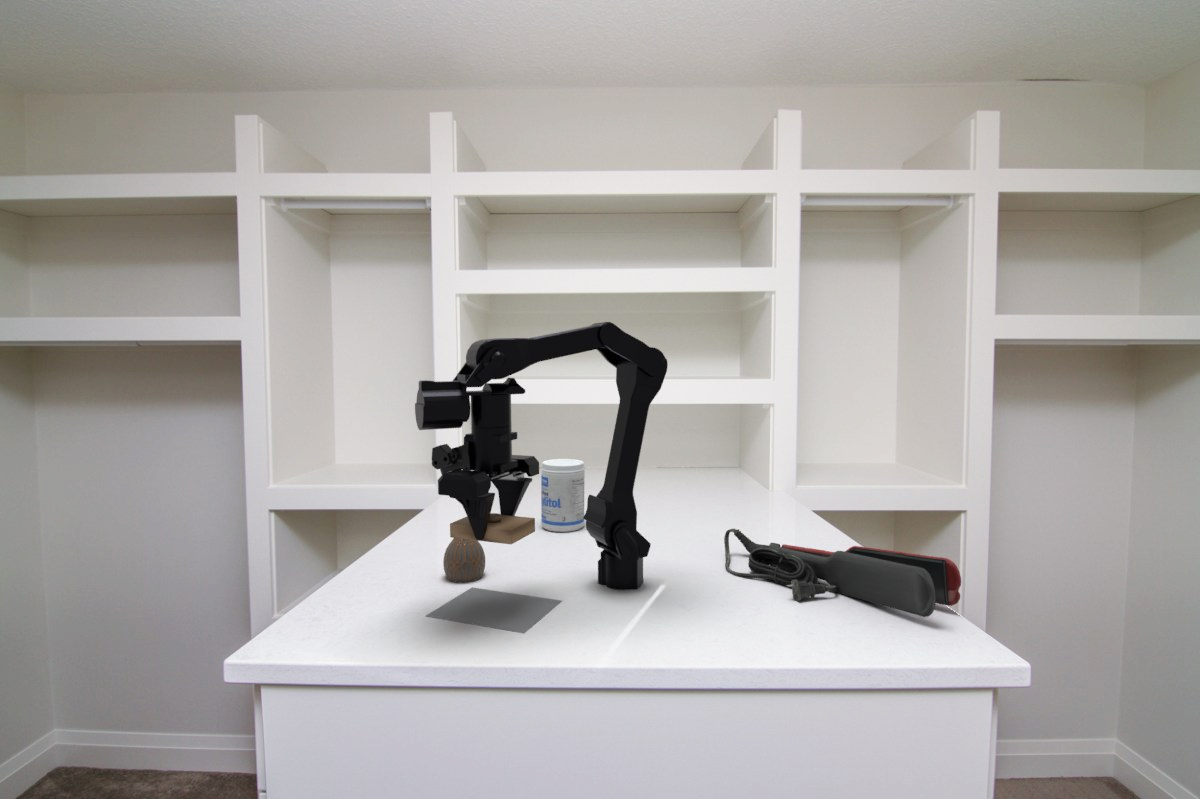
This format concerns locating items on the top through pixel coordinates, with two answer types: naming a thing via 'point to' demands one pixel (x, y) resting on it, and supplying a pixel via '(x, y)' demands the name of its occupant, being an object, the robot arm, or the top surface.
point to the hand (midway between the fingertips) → (493, 532)
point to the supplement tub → (562, 495)
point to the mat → (495, 609)
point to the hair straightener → (856, 574)
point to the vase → (464, 560)
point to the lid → (496, 529)
